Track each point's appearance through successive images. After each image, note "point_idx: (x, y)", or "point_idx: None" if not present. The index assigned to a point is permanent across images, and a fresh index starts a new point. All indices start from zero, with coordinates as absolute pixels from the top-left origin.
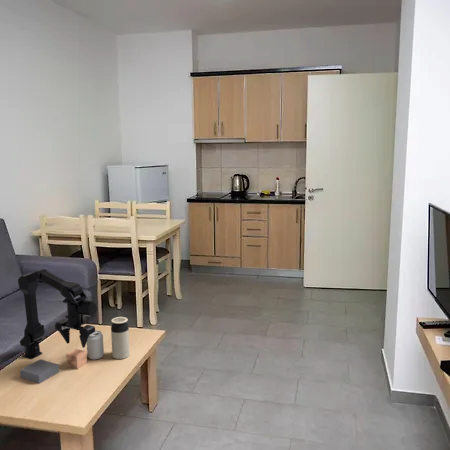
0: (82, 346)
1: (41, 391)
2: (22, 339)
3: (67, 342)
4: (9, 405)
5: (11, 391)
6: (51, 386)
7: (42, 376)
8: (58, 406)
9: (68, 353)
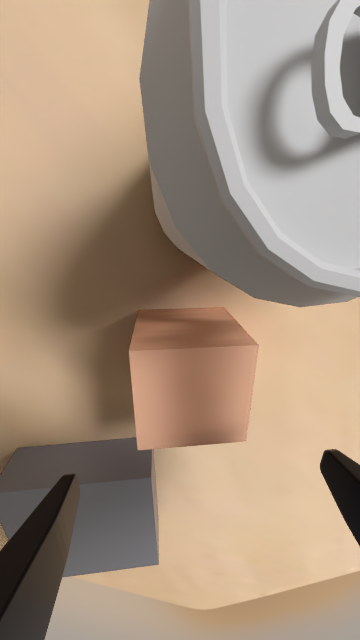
0: (336, 493)
1: (209, 534)
2: None
3: (75, 518)
4: (182, 597)
5: (115, 574)
6: (218, 507)
7: (157, 534)
8: (320, 545)
9: (141, 438)
